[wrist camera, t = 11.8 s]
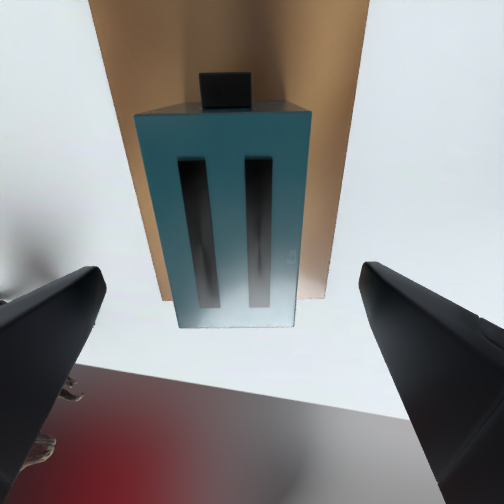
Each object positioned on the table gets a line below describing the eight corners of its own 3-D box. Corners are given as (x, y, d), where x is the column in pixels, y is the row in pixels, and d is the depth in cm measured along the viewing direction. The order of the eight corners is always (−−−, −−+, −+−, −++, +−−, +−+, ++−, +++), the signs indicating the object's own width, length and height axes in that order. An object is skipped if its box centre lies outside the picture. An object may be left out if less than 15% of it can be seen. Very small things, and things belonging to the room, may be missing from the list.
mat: (378, -76, 13) (382, -81, 12) (323, 295, 24) (324, 298, 24) (75, -67, 13) (70, -71, 12) (163, 298, 24) (162, 301, 24)
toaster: (280, 249, 21) (294, 329, 14) (202, 250, 21) (178, 330, 14) (288, 75, 15) (317, 66, 8) (180, 77, 15) (120, 71, 8)
